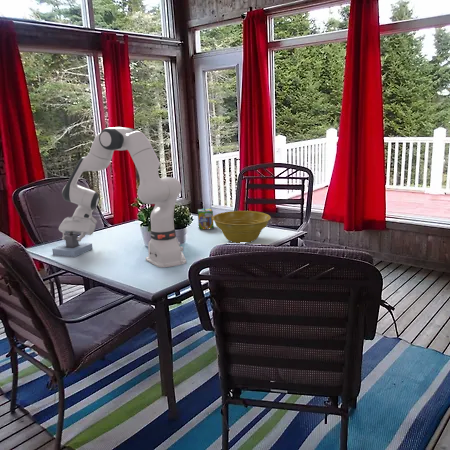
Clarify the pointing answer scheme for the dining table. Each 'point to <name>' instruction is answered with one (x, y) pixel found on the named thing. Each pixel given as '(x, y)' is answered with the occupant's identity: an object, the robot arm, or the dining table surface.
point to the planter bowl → (241, 225)
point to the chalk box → (205, 218)
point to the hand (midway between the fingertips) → (70, 240)
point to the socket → (72, 249)
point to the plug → (71, 240)
